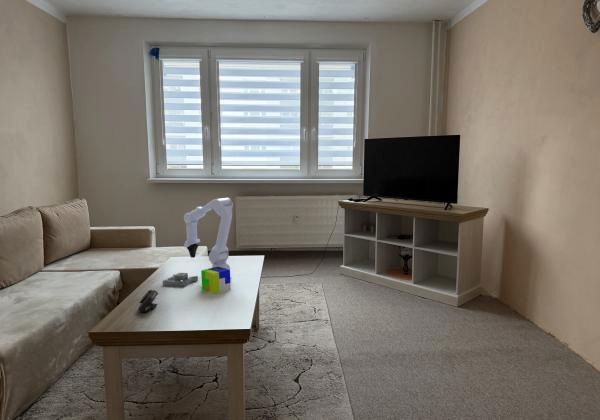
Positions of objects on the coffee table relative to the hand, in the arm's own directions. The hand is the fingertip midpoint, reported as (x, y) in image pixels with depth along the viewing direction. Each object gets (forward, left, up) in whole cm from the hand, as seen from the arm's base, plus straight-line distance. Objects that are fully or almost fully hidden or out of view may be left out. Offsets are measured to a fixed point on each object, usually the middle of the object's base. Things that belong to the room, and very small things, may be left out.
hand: (192, 257), depth 236 cm
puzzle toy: (-34, +12, -10) cm, 37 cm away
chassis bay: (-10, +16, -9) cm, 21 cm away
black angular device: (-32, +48, -10) cm, 59 cm away
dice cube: (-11, +16, -10) cm, 21 cm away
